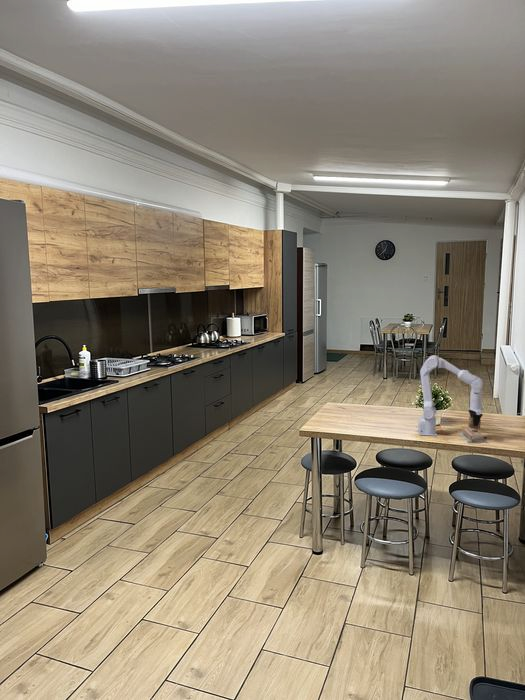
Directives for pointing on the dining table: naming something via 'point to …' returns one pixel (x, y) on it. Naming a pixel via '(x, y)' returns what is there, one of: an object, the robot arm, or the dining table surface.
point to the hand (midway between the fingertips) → (474, 424)
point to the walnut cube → (472, 424)
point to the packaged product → (472, 436)
